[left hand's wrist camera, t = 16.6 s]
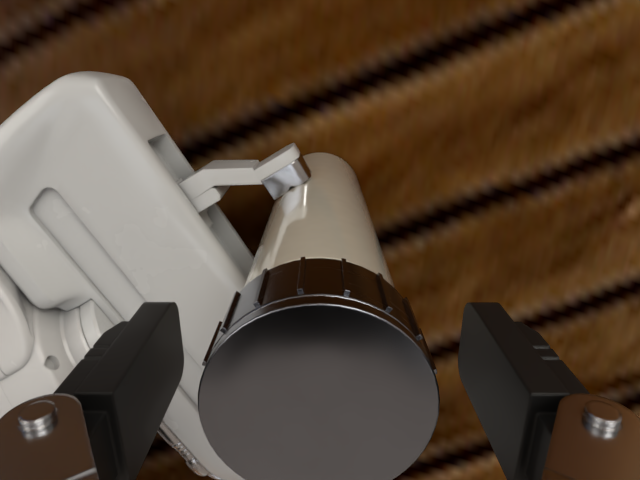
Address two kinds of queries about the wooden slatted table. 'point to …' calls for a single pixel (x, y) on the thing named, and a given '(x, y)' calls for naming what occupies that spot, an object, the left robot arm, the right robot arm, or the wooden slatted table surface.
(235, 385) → the lid
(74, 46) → the wooden slatted table surface
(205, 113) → the wooden slatted table surface
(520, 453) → the left robot arm
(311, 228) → the beige tall cylinder
